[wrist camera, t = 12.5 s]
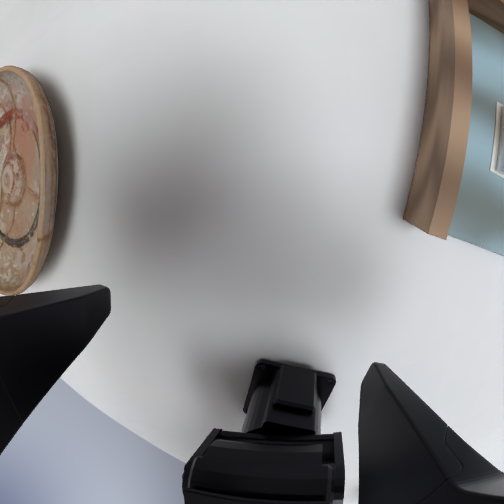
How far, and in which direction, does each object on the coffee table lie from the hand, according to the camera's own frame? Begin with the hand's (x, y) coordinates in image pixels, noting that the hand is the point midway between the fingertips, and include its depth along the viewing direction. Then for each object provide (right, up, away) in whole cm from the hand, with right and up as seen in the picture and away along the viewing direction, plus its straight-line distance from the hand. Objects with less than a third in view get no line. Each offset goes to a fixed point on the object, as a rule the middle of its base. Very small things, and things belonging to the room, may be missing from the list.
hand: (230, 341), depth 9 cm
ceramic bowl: (-25, +11, +14) cm, 30 cm away
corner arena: (+22, +11, +4) cm, 25 cm away
